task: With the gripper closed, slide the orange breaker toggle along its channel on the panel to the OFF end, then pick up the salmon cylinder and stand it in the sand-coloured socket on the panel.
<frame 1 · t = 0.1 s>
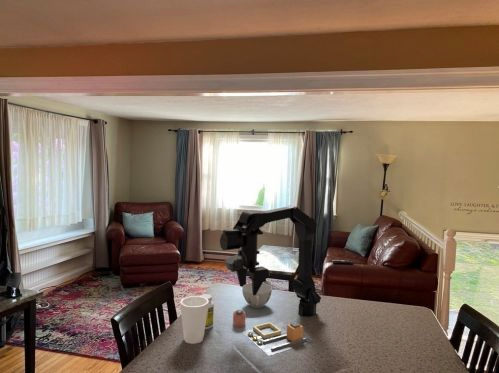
hand: (247, 290, 124), 15 cm above the table, tool pointing down, fingers open, 9 cm apart
foam cup: (193, 339, 118), on the table
teacup: (256, 307, 146), on the table
toggle: (294, 331, 119), point 3 cm above the table, slide at 0.0 cm
panel: (276, 339, 120), on the table
pill bottle: (204, 326, 128), on the table
socket: (266, 333, 123), resting on panel
salmon cylinder: (239, 326, 128), on the table
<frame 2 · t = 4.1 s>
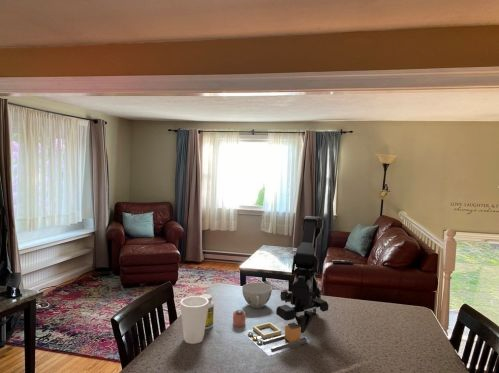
hand: (301, 332, 120), 2 cm above the table, tool pointing down, fingers closed
toggle: (292, 331, 118), point 3 cm above the table, slide at 0.8 cm, touching gripper
everything else where it was.
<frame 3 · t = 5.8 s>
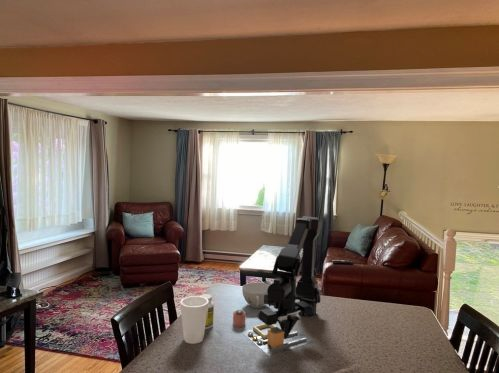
hand: (285, 337, 117), 2 cm above the table, tool pointing down, fingers closed
toggle: (275, 336, 115), point 3 cm above the table, slide at 7.9 cm, touching gripper
everything else where it was.
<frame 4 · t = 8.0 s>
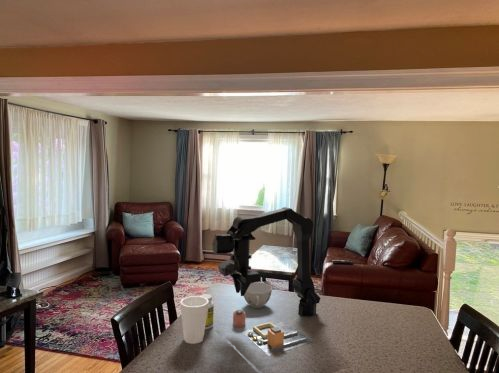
hand: (240, 294, 127), 12 cm above the table, tool pointing down, fingers open, 3 cm apart
toggle: (275, 336, 115), point 3 cm above the table, slide at 7.9 cm
everything else where it was.
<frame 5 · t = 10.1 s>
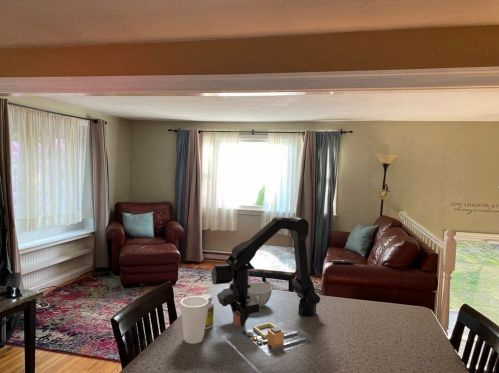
hand: (239, 323, 128), 1 cm above the table, tool pointing down, fingers closed on salmon cylinder, 4 cm apart
salmon cylinder: (238, 326, 128), on the table, touching gripper
everything else where it was.
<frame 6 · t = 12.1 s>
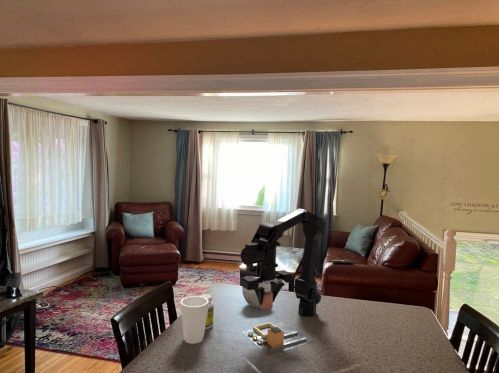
hand: (266, 303, 123), 11 cm above the table, tool pointing down, fingers closed on salmon cylinder, 4 cm apart
salmon cylinder: (266, 306, 123), point 10 cm above the table, touching gripper
everything else where it was.
when the fingers open (3 cm above the table, at t = 14.0 s): salmon cylinder drops 1 cm, resting on panel.
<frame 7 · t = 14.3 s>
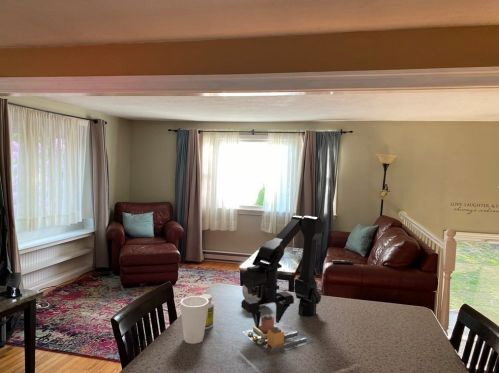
hand: (267, 325, 123), 3 cm above the table, tool pointing down, fingers open, 8 cm apart
salmon cylinder: (267, 331, 123), point 1 cm above the table, touching panel
everything else where it was.
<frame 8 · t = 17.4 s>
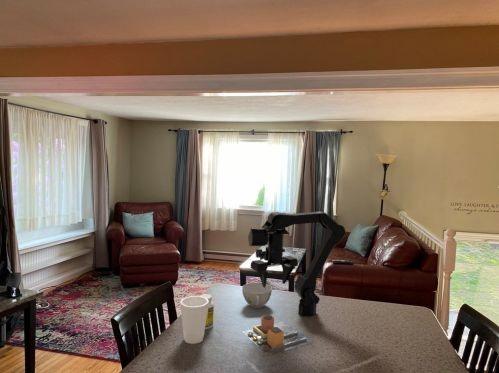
hand: (274, 285, 135), 13 cm above the table, tool pointing down, fingers open, 9 cm apart
nothing on the table moved.
at the end: toggle slide at 7.9 cm; salmon cylinder 0.1 cm from the socket (horizontally); salmon cylinder point 0.8 cm above the table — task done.
